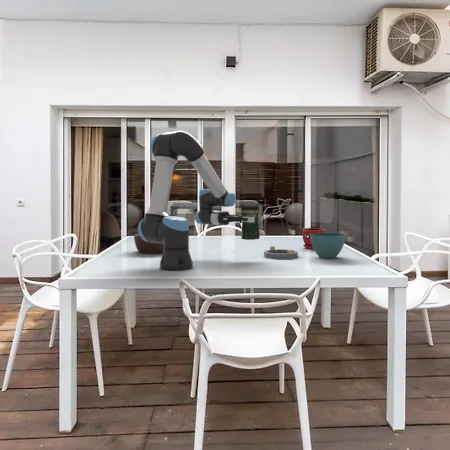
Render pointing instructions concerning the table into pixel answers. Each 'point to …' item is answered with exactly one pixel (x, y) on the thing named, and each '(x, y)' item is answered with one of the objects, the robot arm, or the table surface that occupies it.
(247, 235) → the coffee jar
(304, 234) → the plant pot
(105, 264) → the table surface
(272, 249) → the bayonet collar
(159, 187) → the robot arm
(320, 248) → the plant pot
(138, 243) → the wooden bowl
